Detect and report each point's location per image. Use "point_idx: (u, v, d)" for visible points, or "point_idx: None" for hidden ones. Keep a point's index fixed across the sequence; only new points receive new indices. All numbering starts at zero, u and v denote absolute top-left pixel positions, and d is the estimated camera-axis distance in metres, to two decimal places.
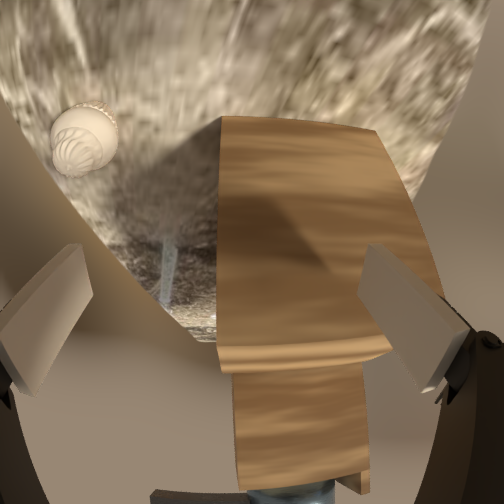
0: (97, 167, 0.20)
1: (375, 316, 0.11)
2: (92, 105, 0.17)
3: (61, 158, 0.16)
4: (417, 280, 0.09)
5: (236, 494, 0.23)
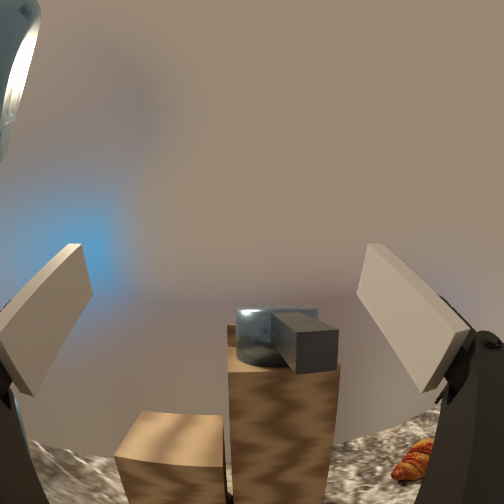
0: None
1: (375, 316, 0.11)
2: None
3: None
4: (417, 279, 0.09)
5: None
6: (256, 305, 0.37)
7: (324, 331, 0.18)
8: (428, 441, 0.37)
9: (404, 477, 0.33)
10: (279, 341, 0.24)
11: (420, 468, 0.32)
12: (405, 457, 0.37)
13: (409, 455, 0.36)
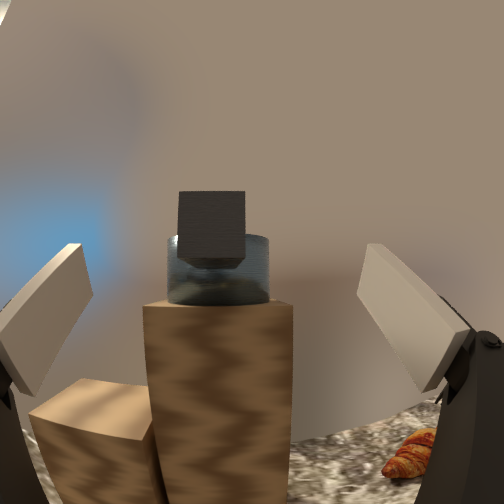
0: None
1: (375, 316, 0.11)
2: None
3: None
4: (417, 279, 0.09)
5: (231, 268, 0.22)
6: None
7: (221, 192, 0.13)
8: (426, 430, 0.32)
9: (398, 475, 0.27)
10: None
11: (417, 464, 0.27)
12: (399, 450, 0.32)
13: (404, 448, 0.31)
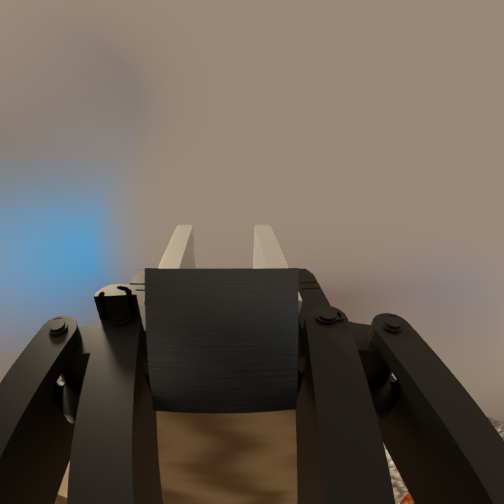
0: None
1: None
2: None
3: None
4: (277, 254, 0.11)
5: None
6: None
7: (244, 271, 0.05)
8: None
9: None
10: None
11: None
12: None
13: None
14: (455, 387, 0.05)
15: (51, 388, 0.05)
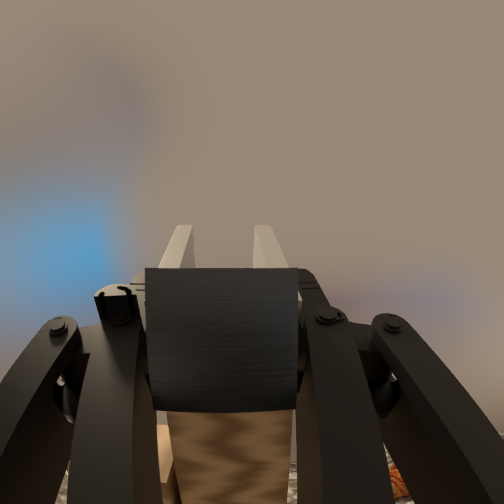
0: None
1: None
2: None
3: None
4: (277, 254, 0.11)
5: None
6: None
7: (244, 271, 0.05)
8: None
9: None
10: None
11: (401, 487, 0.29)
12: None
13: (391, 472, 0.33)
14: (455, 387, 0.05)
15: (51, 387, 0.05)
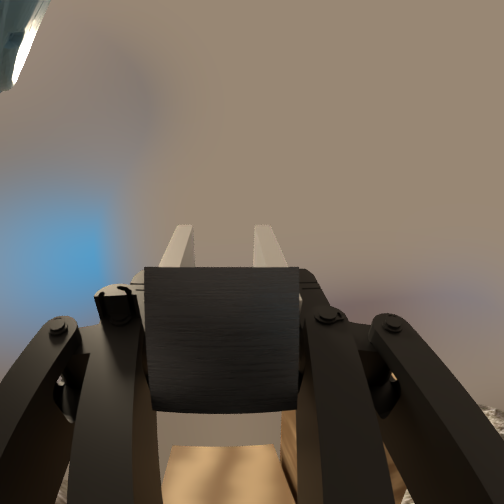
0: None
1: None
2: None
3: None
4: (277, 254, 0.11)
5: None
6: None
7: (245, 270, 0.05)
8: None
9: None
10: None
11: None
12: None
13: None
14: (455, 387, 0.05)
15: (51, 387, 0.05)
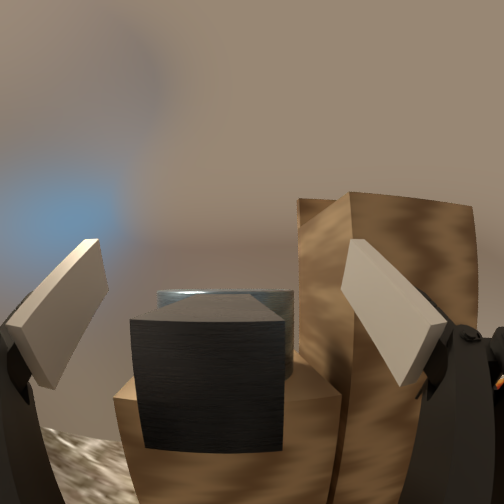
0: None
1: (357, 310, 0.12)
2: None
3: None
4: (396, 273, 0.10)
5: None
6: (201, 289, 0.24)
7: (229, 325, 0.05)
8: None
9: None
10: None
11: None
12: None
13: None
14: None
15: None
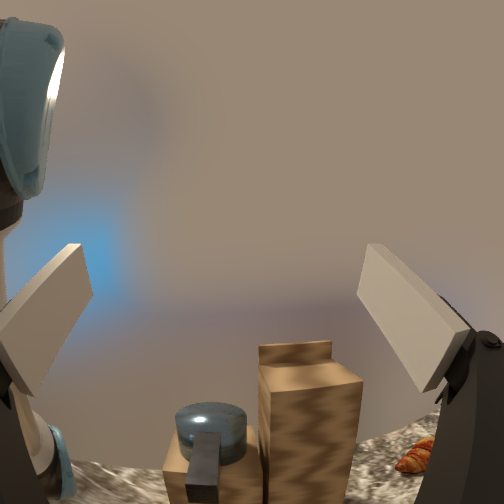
0: None
1: (375, 316, 0.11)
2: None
3: None
4: (417, 279, 0.09)
5: None
6: (198, 405, 0.38)
7: (205, 485, 0.19)
8: (430, 438, 0.42)
9: (406, 469, 0.38)
10: None
11: (420, 463, 0.38)
12: (409, 452, 0.42)
13: (412, 450, 0.42)
14: None
15: None
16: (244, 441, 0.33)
